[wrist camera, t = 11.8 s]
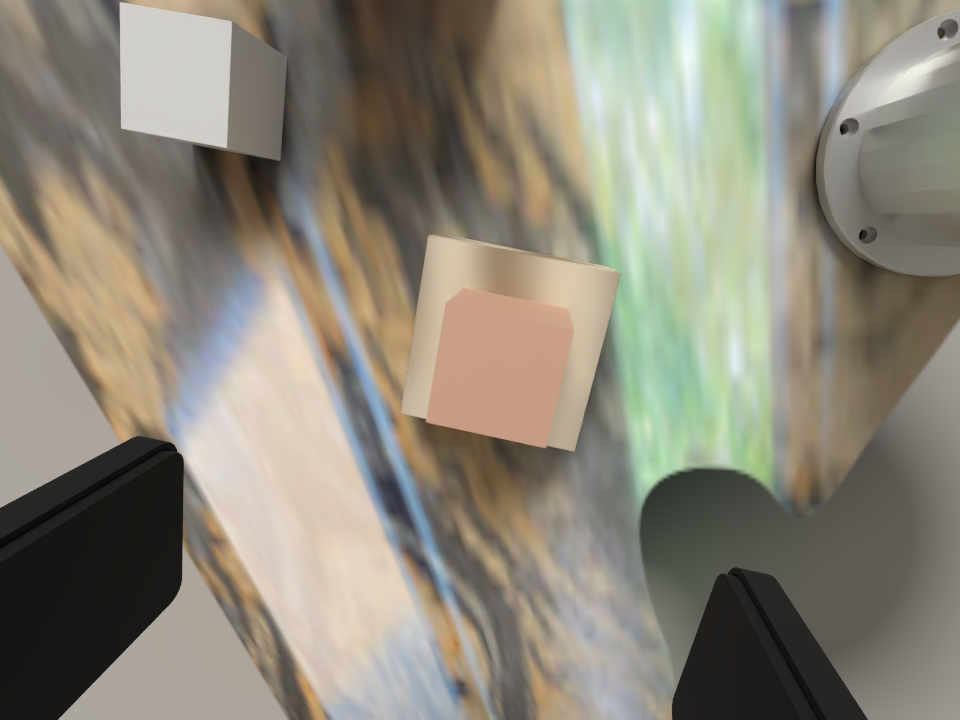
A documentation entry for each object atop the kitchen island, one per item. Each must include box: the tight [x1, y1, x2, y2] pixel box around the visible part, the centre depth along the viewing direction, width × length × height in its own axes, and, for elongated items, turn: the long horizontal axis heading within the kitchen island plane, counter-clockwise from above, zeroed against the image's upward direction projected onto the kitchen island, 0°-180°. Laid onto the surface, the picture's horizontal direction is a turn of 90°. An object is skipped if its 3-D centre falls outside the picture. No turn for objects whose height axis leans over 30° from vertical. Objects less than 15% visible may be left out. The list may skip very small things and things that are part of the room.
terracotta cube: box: [426, 288, 574, 448], centre depth 25 cm, size 6×6×6 cm
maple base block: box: [401, 234, 621, 451], centre depth 30 cm, size 10×10×4 cm
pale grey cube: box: [120, 2, 287, 161], centre depth 27 cm, size 6×6×6 cm
